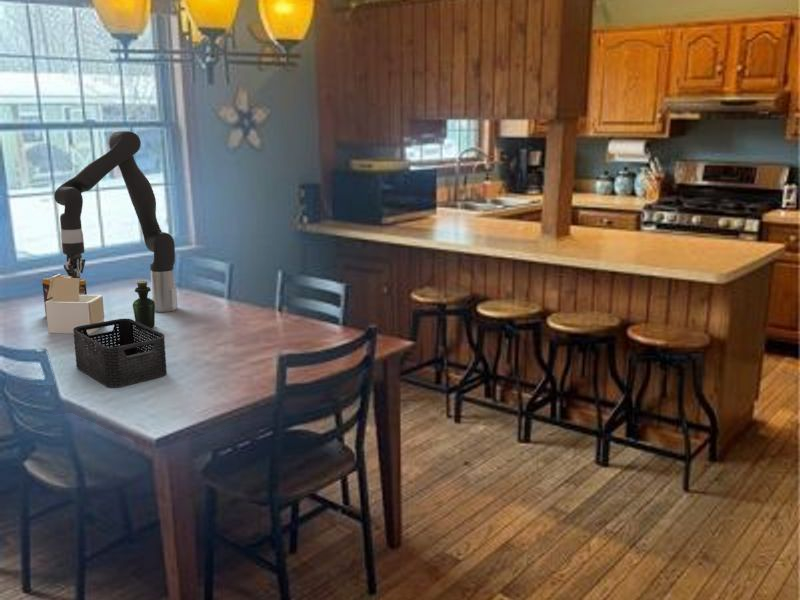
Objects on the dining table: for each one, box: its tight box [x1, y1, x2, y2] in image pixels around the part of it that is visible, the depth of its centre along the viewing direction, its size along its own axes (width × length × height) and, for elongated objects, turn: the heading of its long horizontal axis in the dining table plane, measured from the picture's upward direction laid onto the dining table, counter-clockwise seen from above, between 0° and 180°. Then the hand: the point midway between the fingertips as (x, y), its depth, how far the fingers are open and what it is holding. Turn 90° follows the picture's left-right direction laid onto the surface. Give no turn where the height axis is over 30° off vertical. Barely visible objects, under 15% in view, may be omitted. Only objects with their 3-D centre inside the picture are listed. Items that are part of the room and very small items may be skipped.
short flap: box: [47, 273, 61, 299], centre depth 269 cm, size 9×6×1 cm
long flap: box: [52, 277, 81, 302], centre depth 264 cm, size 10×9×1 cm
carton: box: [44, 294, 105, 335], centre depth 272 cm, size 17×13×12 cm
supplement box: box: [41, 274, 88, 317], centre depth 288 cm, size 10×15×16 cm
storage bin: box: [73, 318, 168, 389], centre depth 227 cm, size 29×19×13 cm
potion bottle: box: [132, 280, 156, 329], centre depth 274 cm, size 8×8×18 cm
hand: (76, 286), depth 271 cm, fingers closed
